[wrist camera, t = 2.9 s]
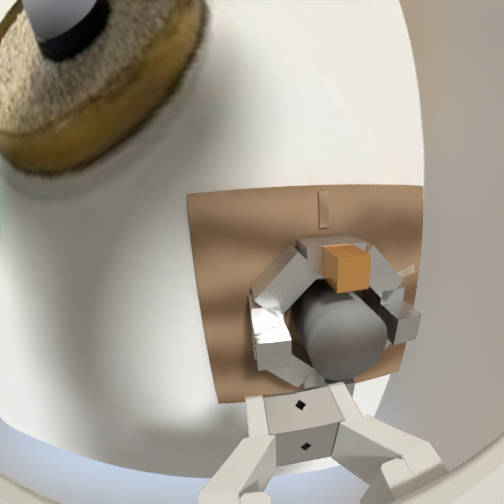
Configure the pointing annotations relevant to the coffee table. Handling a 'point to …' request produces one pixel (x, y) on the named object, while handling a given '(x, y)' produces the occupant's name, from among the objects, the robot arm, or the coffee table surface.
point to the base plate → (262, 239)
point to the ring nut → (341, 280)
